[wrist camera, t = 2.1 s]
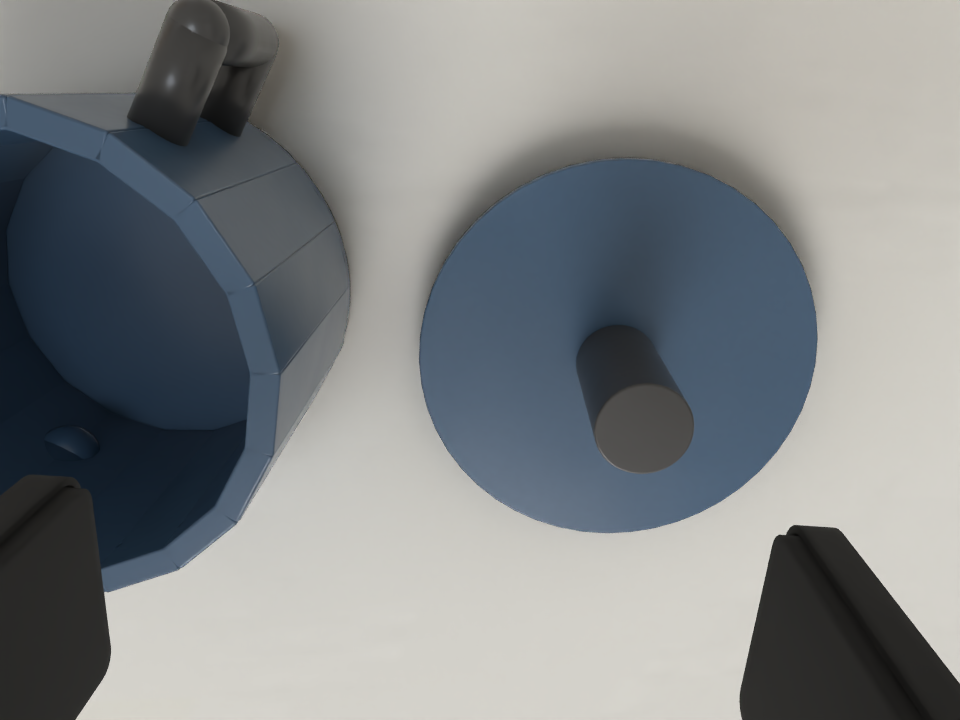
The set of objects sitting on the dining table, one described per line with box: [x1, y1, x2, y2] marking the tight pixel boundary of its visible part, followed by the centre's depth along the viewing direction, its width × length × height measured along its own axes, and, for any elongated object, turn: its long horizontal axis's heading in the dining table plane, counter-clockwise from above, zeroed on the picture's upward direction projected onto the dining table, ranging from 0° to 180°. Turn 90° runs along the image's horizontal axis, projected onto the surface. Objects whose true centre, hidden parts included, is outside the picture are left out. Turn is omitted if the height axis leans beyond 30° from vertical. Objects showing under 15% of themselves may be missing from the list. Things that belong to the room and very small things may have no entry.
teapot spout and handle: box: [44, 0, 279, 461], centre depth 24 cm, size 2×23×8 cm, turn 150°
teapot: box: [0, 93, 350, 592], centre depth 24 cm, size 14×14×10 cm
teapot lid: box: [419, 158, 817, 533], centre depth 26 cm, size 15×15×7 cm
